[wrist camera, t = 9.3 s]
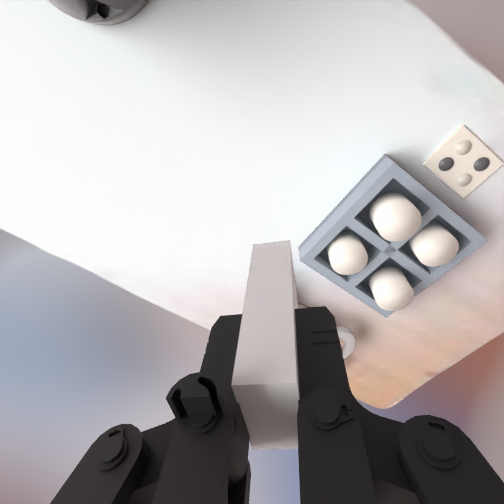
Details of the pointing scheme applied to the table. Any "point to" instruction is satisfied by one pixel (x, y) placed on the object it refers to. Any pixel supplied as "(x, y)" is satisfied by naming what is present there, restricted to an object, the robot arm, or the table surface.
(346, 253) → the button
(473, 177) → the card
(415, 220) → the button
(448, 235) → the button
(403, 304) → the button
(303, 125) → the table surface
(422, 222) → the button board
